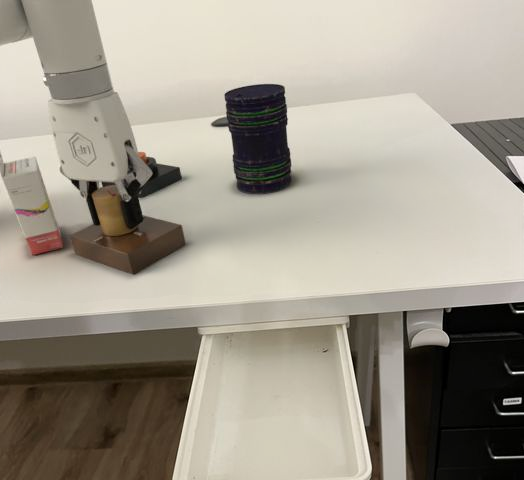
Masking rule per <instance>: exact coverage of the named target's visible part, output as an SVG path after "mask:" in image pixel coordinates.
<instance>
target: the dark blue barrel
mask: <svg viewBox="0 0 524 480" xmlns="http://www.w3.org/2000/svg"><path fill="white" fill-rule="evenodd" d="M285 94H286V87H285V86H284V85H282V84H277V83H259V84H258V83H257V84H251V85H245V86H240V87H235V88H233V89H230V90H228V91H226V92H225V93H224V94H223V96H224V101H225V110H226V111H225V114H226V120H227V128H228V132H230V135H231V136H230V137H231V144H232V150H233V151H232V152H233V154H232V164H233V173H234V175H235V179H236V188H237V190H238V191H240V192H241V193H245V194H248V195H249V194H250V195H263V194H271V193H276V192H279V191H283V190H284V189H286V188H288V187H290V185H291V184H292V182H293V177H292V175H291V174H292V158H291V149H290V147H289V144H288V132H287V127H288V124H289V123H288V120H289V118H288V114H287V113H288V105H287V99H286V96H285Z"/></svg>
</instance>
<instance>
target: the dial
mask: <svg viewBox="0 0 524 480" xmlns="http://www.w3.org/2000/svg"><path fill="white" fill-rule="evenodd" d="M127 188H128V187H127ZM92 198H93V201H94V204H95V208H96V211H97V214H98V218H99V221H100V224H101V228H102V231H103V233H104V234H105V235H108V236H119V235H124V234H127V233H130V232H132V231H134V230H135V229H136V228H137V226H138V225H137V226H136V227H134V228H133V229H128V228H127V227H126V223H125V220H124V216H123V212H122V209H121V205H120V202H121V201H123V198H122V196H121V194H120V192H119V191H118V189H117V187H116V185H110V186H106V187H103V186H102V187H99V189H98V190H96V191H94V192H93V193H92Z"/></svg>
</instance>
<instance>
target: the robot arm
mask: <svg viewBox="0 0 524 480" xmlns="http://www.w3.org/2000/svg"><path fill="white" fill-rule="evenodd" d="M28 39H33V42H34V45H35V49H36V51H37V54H38V58H39V62H40V65H41V68H42V71H43V78H42V79H43V84H44V86H46V87H48V91H49V94H50V97H51V98H50V99H48V103H47V105H48V114H49V121H50V126H51V131H52V137H53V140H54V145H55V149H56V153H57V156H58V160H59V163H60V167H59V172H60V174H61V175H62V176H64V177H65V178H66V179H68V180H69V181H70V182H71V184H72V185H73V187H75V188H76V189H77V190H78V191H79V195H80V197H81V198H83V199H85V201H86V204H87V207H88V211H89V214H90V217H91V221H92V223H93V224H94V225H96V226H99V225H100V221H99V218H98V214H97V211H96V208H95V204H94V201H93V198H92V193H93V192H94V191H96V190H98V189H100V183H101V182H114V183H115V185H116V187H117V189H118V191H119V192H120V194H121V196H122V198H123V201H121V202H120V205H121V209H122V212H123V216H124V220H125V223H126V227H127V228H128V229H133V228H134V227H136V226H137V225H139V224H140V223H141V222H143V211H142V206H141V203H140V199H139V198H140V197H138V195H139V194H140V193H141V190H142V188H143V186H144V185H145V183H146V182H147V181H148V179H149V178H150V177H151V176H152V170H151V169H150V168H149V167H148V166H147V165H146V163H145V162H144V161H143V160H142V159H141V158H140V157H139V154H138V152H139V150H138V147H137V141H136V138H135V136H134V132H133V128H132V126H131V123H130V120H129V117H128V114H127V112H126V109H125V107H124V104H123V101H122V100H121V98H120V95H119V93H118V92H117V91H115V90H114V86H113V82H112V78H111V74H110V70H109V65H108V62H107V58H106V53H105V50H104V46H103V45H104V44H103V42H102V41H103V40H102V37H101V33H100V29H99V24H98V21H97V17H96V12H95V8H94V4H93V0H0V47H1V46H5V45H8V44H12V43H18V42H21V41H24V40H28ZM133 172H136V177H134V175H133ZM125 179H126V181H127V183H128V185H129V186H128V188H127V186H126V184H125V182H124V180H125ZM93 224H92V225H93Z"/></svg>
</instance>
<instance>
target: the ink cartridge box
mask: <svg viewBox="0 0 524 480" xmlns="http://www.w3.org/2000/svg"><path fill="white" fill-rule="evenodd" d="M0 176H1V180H2V182H3V185H4V188H5V190H6V192H7V196H8V198H9V201H10V202H11V205H12V208H13V210H14V213H15V216H16V218H17V220H18V223H19V226H20V228H21V230H22V233H23V236H24V238H25V240H26V243H27V246H28V248H29V251H30V254H31V255H32V256H34V255H39V254H42V253H47V252H50V251H54V250H58V249H63V248H64V245H63V244H64V243H63V240H62V235H61V230H60V226H59V224H58V221H57V218H56V215H55V212H54V209H53V206H52V203H51V200H50V197H49V194H48V191H47V188H46V184H45V181H44V179H43V176H42V171H41V170H40V166H39V163H38V160H37V157H36V156H30V157H29V156H28V157H25V158H21V159H17V160H12V161H7V162H4V160H3V156H2V153H1V151H0Z"/></svg>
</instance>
